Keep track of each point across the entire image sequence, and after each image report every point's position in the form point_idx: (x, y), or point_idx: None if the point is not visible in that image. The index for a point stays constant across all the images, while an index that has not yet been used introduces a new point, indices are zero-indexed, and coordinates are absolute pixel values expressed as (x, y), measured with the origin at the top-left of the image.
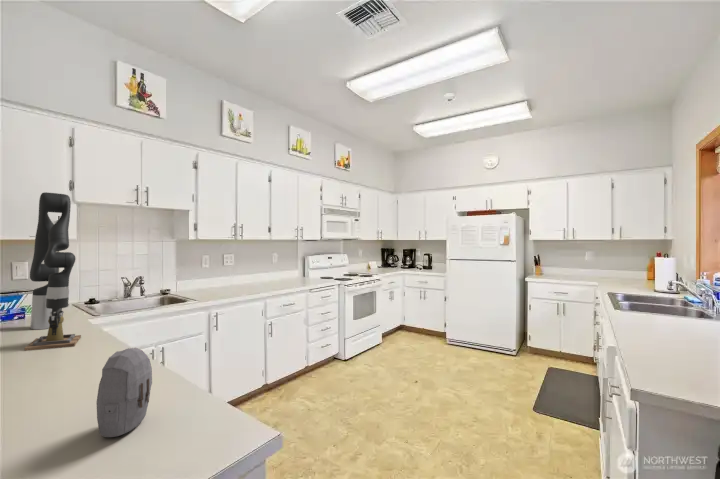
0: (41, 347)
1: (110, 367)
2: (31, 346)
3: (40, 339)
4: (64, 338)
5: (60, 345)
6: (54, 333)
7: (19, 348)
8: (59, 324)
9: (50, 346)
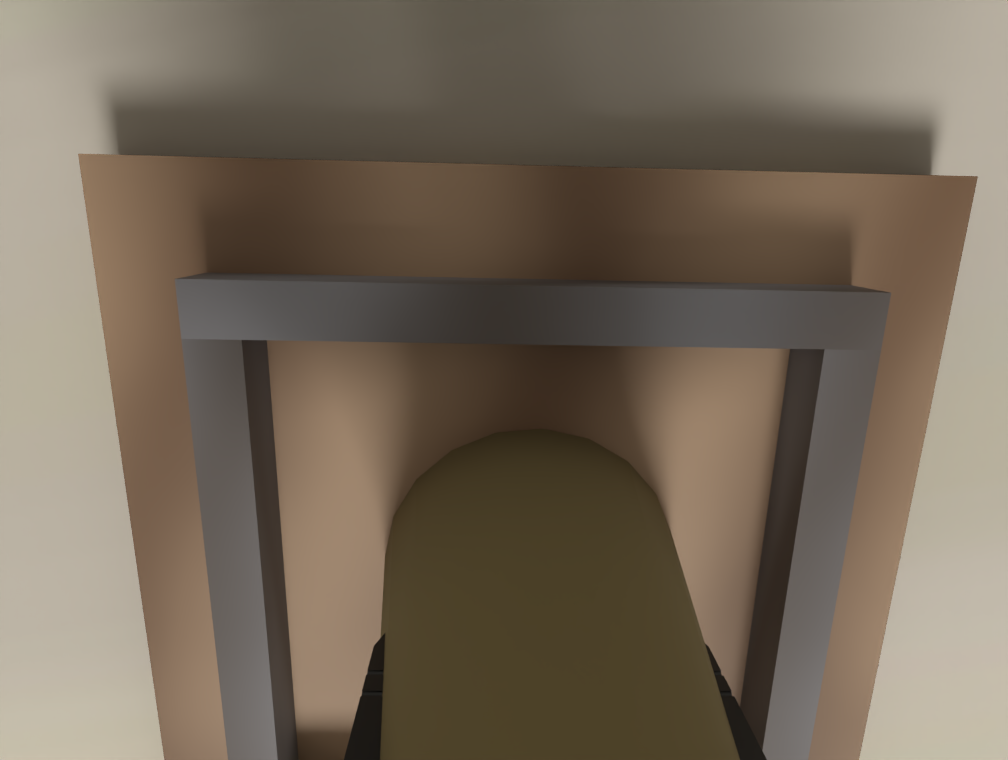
0: (133, 428)
1: None
2: (171, 257)
3: (566, 344)
4: None
5: (161, 691)
6: None
7: (368, 9)
8: None
9: (142, 559)
